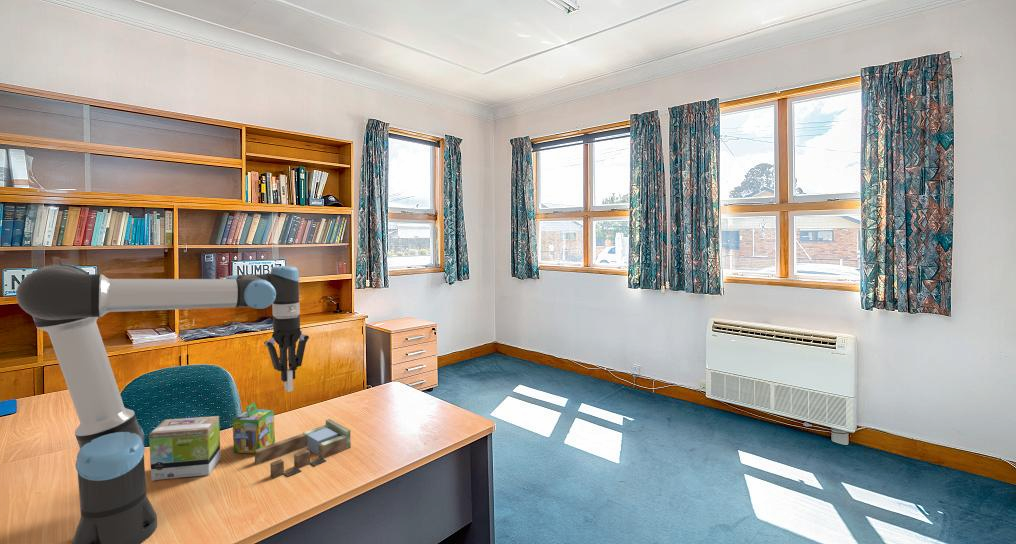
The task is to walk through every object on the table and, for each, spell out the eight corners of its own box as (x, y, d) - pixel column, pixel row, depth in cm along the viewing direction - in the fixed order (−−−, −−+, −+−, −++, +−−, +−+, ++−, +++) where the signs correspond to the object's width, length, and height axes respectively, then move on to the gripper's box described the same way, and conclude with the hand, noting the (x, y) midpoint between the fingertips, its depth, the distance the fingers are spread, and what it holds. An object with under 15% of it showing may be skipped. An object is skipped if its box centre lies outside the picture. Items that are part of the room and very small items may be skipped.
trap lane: (277, 481, 130) (276, 461, 130) (254, 462, 141) (254, 444, 140) (354, 449, 150) (354, 432, 149) (329, 435, 160) (329, 418, 159)
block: (318, 455, 146) (317, 441, 145) (307, 449, 150) (306, 434, 150) (338, 447, 151) (337, 433, 151) (326, 441, 156) (326, 427, 155)
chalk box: (259, 455, 145) (257, 410, 144) (232, 453, 146) (230, 409, 144) (276, 441, 154) (274, 399, 153) (250, 440, 155) (249, 398, 154)
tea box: (150, 482, 129) (147, 433, 127) (166, 464, 138) (163, 418, 137) (209, 475, 133) (207, 427, 131) (221, 458, 142) (219, 414, 141)
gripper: (269, 321, 131) (272, 399, 133) (312, 315, 141) (314, 387, 143) (258, 317, 136) (261, 392, 138) (301, 311, 146) (303, 382, 148)
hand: (288, 390), depth 141 cm, fingers closed
